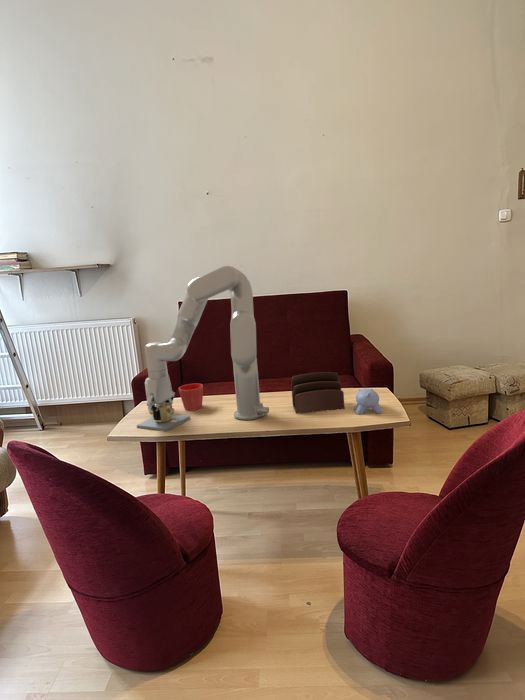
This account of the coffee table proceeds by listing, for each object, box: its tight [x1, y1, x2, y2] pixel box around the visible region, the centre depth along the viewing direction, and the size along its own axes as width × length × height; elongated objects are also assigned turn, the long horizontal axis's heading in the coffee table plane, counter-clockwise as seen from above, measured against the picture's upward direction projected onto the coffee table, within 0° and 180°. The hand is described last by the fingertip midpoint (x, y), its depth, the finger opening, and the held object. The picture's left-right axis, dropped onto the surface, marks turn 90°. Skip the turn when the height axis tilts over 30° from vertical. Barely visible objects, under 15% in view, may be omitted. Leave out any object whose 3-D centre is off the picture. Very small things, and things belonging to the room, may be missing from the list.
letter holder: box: [290, 371, 346, 415], centre depth 184 cm, size 10×20×14 cm, turn 93°
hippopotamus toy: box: [353, 388, 384, 415], centre depth 177 cm, size 11×15×10 cm
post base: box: [136, 403, 191, 432], centre depth 181 cm, size 15×15×8 cm
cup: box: [155, 402, 175, 422], centre depth 180 cm, size 9×7×6 cm
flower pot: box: [178, 383, 204, 411], centre depth 198 cm, size 11×11×10 cm
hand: (163, 416), depth 181 cm, fingers closed on cup, 6 cm apart
